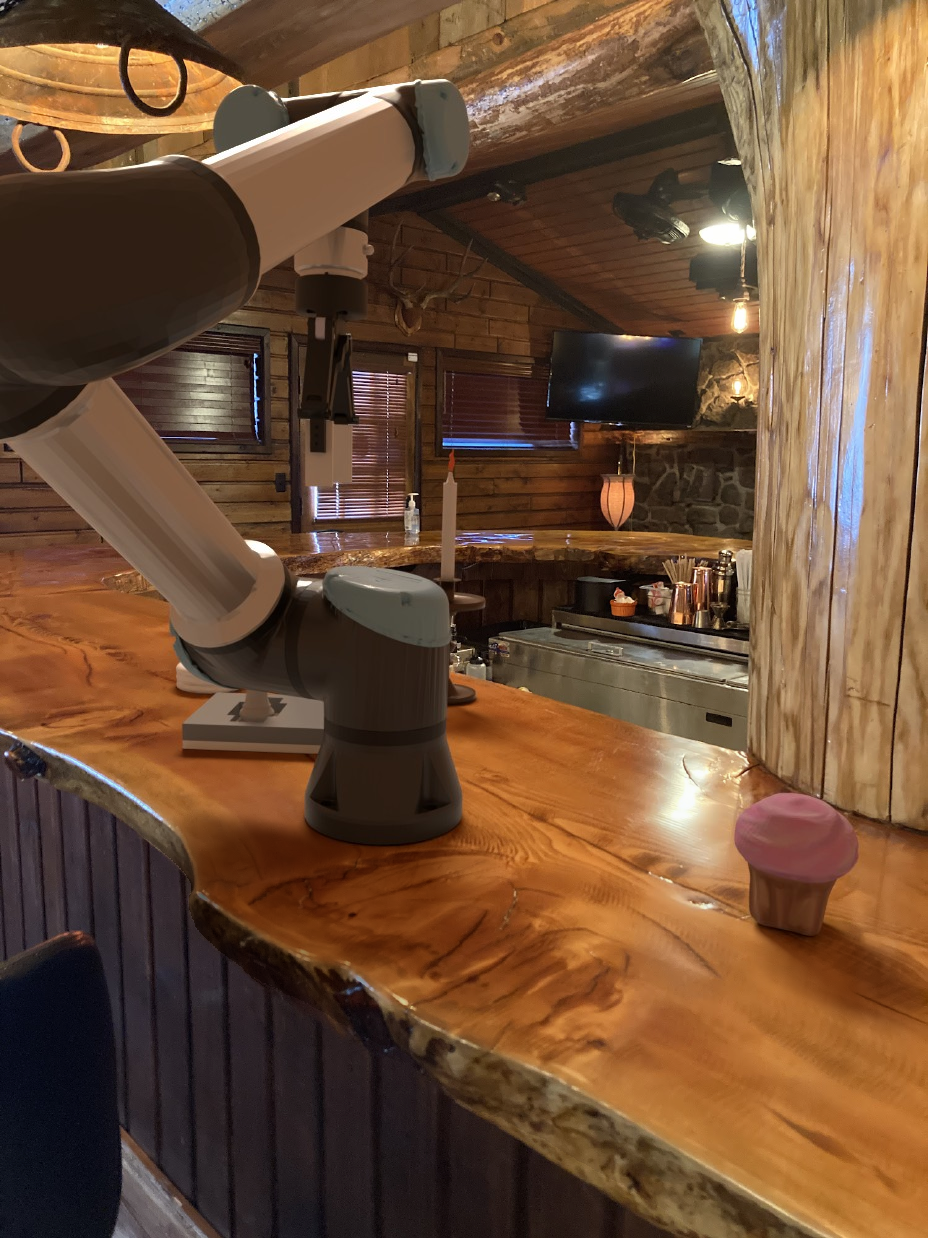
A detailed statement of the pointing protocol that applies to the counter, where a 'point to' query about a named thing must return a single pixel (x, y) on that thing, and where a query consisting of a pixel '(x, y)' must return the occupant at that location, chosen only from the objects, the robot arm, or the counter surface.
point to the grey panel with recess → (256, 725)
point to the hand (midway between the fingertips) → (330, 484)
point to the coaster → (196, 683)
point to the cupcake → (794, 859)
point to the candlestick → (447, 581)
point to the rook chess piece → (256, 707)
